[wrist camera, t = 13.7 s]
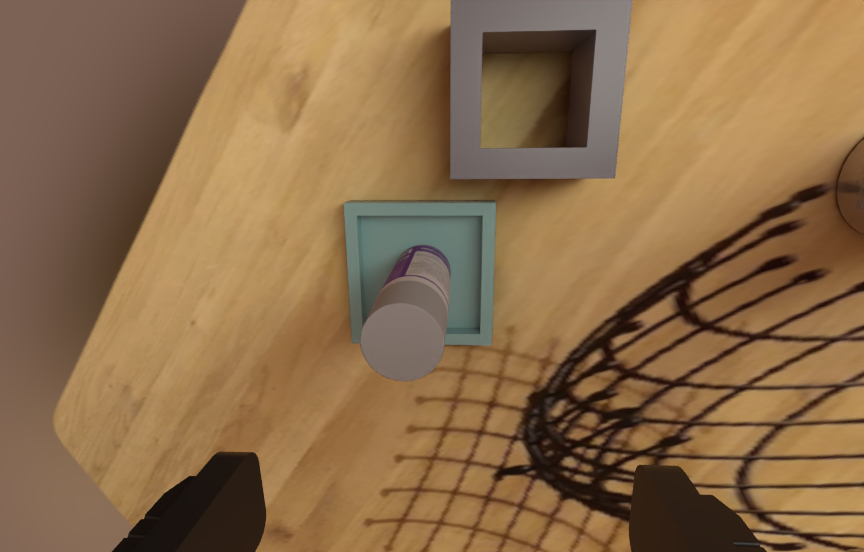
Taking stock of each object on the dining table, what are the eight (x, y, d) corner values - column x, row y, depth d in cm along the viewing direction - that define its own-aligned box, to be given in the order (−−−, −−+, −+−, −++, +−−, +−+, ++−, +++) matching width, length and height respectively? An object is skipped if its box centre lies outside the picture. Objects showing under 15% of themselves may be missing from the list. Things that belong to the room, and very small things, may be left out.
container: (405, 303, 38) (373, 392, 24) (388, 252, 37) (345, 313, 23) (457, 289, 38) (457, 372, 23) (442, 237, 37) (432, 290, 22)
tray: (494, 200, 36) (496, 202, 34) (490, 336, 39) (491, 345, 38) (349, 200, 37) (343, 203, 35) (356, 334, 40) (351, 343, 38)
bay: (602, 20, 32) (633, -9, 27) (589, 174, 35) (614, 178, 30) (452, 24, 33) (450, -3, 27) (451, 175, 36) (450, 179, 30)
